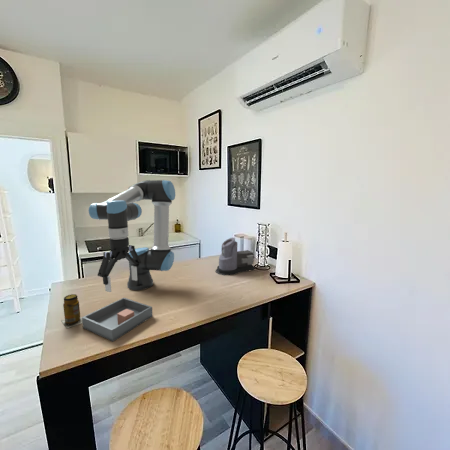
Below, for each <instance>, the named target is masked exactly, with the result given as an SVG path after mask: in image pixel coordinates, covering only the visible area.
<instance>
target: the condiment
mask: <svg viewBox="0 0 450 450" xmlns="http://www.w3.org/2000/svg"><path fill="white" fill-rule="evenodd" d="M62 308H63V314H64V320H61V323H62V324H63V325H64V327H65V328H66V329H69V328H73V327H75V326H79V325H80V324H83V323H82V317H81V309H80V300H79V299H78V295H77V294H73V293H71V294H68V295H67V294H66V295H65V296H64V297H63V306H62Z"/></svg>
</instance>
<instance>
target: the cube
mask: <svg viewBox="0 0 450 450" xmlns="http://www.w3.org/2000/svg"><path fill="white" fill-rule="evenodd" d="M133 316H134V311H132V310H129V309H125V310H123V311H121V312H119V313H117V319H118V324H121V323H123V322H125V321H126V320H128V319H130V318H132V317H133Z"/></svg>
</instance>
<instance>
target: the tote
mask: <svg viewBox="0 0 450 450" xmlns="http://www.w3.org/2000/svg"><path fill="white" fill-rule="evenodd" d="M125 309H129V310H132V311H134V316H133V317H132V318H130V319H128V320H126V321H125V322H123V323H121V324H118V319H117V313H119V312H121V311H123V310H125ZM152 317H153V306H151V305H147V304H145V303H142V302H138V301H135V300H132V299H129V298H126V297H122V298H120V299H117V300H115V301H113V302H112V303H109V304H107V305H106V306H105V305H104V306H103V307H101V308H99V309H96V310H94V311H92V312H90V313H87V314H86V315H84V316H82V317H81V318H82V323H81V324H82V328H83V329H84V330H86V331H89V332H91V333H94V334H95V335H98V336H100V337H101V338H104V339H106V340H108V341H110V342H115V341H116V340H117V339H119V338H122V336H124V335H126V334H128V333H129V332H130V331H132V330H134V329H135V328H137V327H138V326H141V325H142V324H143V323H145V322H147V321H148V320H149V319H152Z"/></svg>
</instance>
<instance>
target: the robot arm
mask: <svg viewBox="0 0 450 450" xmlns="http://www.w3.org/2000/svg"><path fill="white" fill-rule="evenodd" d="M175 199H176V188H175V186H174V183H173V182H172V181H170V180H168V179H167V180H165V179H160V180H155V179H154V180H150V179H148V180H143V181H139V182H136V183H134V184H132V185H130V186H129V187H128V188H127V189H126V190H124V191H122V192H120V193H119V194H117V195H114V196H113V197H110V198H108V199H107V200H105V201H102V202H93V203H91V204H90V205H89V207H88V215H89V216H90V219H93V220H98V221H101V220H105V221H106V220H107V224H108V226H107V227H108V238H109V239H108V240H109V241H108V242H109V248H110V251H104V252H103V257H102V259H101V263H100V266H99V269H98V272H97V277H101V278H102V283H103V285H104V290H105V292H108V293H111V292H112V282H111V276H110V274H111V272H112V271H113V268H114V267H115V265H116V263H117V262H118V261H121V260H123V259H125V260H127V261H128V267H129V268H128V269H129V276H128V281H127V284H126V285H127V286H126V287H127V288H129V290H131V289H132V290H131V291H143V290H146V289H148V288H149V289H150V288H151V287H153V285H154V280H153V277H152V274H151V272H150V271H158V272H160V271H161V272H168V271H170V270H171V269H172V267H173V264H174V261H175V253H174V252H173V250H172V249H171V246H170V245H169V233H170V232H169V229H170V227H169V225H170V206H171V205H172V202H173V201H174V200H175ZM142 200H144V201H145V200H147V201H150V200H151V204H152V205H153V208H154V209H153V210H154V213H153V245H152V247H150V249H149V247H138V248H137V247H135V245H133V244H132V245H131V244H130V241H129V240H130V237H129V225H128V222H129V221H133V220H136V219H138V218H140V217H141V215H142V212H143V210H142V207H141V206H140V205H139V204H138V203H137V202H140V201H142Z"/></svg>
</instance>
